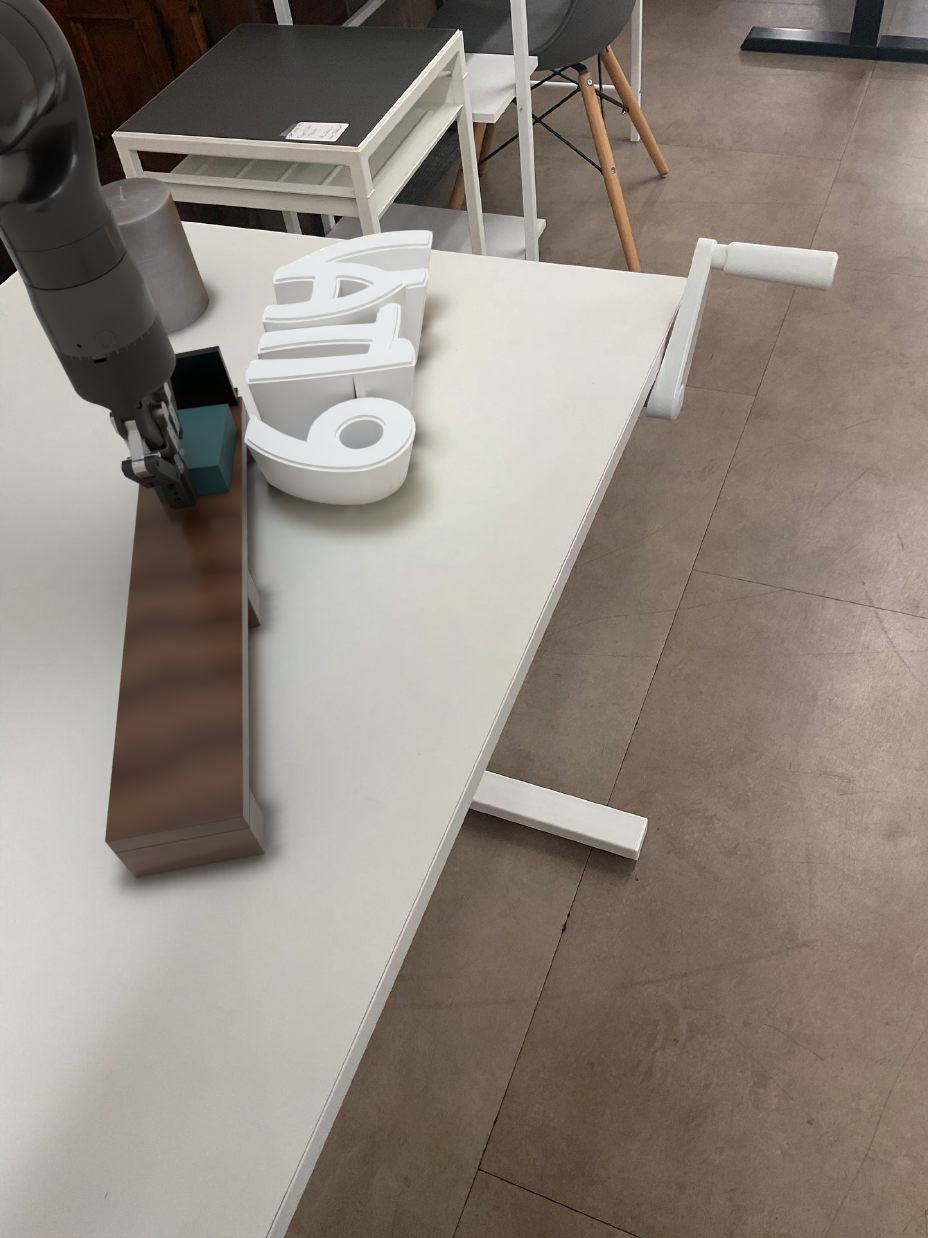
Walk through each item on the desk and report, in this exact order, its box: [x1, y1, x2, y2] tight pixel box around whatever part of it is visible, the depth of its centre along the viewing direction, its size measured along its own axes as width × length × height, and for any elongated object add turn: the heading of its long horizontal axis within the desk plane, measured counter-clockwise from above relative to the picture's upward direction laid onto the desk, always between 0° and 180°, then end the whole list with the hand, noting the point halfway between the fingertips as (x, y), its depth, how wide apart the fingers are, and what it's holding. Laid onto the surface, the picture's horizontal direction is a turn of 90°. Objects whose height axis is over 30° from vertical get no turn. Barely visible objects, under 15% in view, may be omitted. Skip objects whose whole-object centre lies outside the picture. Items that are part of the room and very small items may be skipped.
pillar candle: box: [101, 176, 210, 335], centre depth 108 cm, size 10×10×15 cm
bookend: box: [170, 345, 239, 410], centre depth 90 cm, size 2×8×6 cm, turn 98°
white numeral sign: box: [245, 229, 434, 506], centre depth 95 cm, size 35×16×11 cm, turn 175°
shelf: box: [104, 395, 266, 879], centre depth 81 cm, size 44×9×6 cm, turn 8°
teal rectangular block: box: [154, 404, 238, 500], centre depth 86 cm, size 8×6×3 cm
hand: (185, 502), depth 83 cm, fingers closed
